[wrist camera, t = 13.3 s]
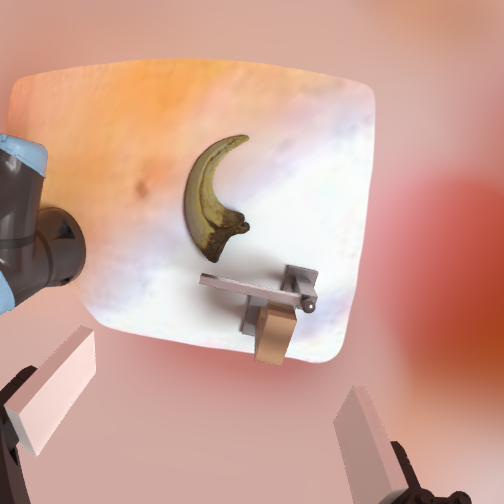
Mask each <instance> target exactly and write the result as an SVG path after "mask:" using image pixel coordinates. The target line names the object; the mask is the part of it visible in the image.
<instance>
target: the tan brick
mask: <svg viewBox="0 0 504 504" xmlns="http://www.w3.org/2000/svg"><path fill="white" fill-rule="evenodd" d="M296 322H297V319H296V315H295V311H294V307H293V305H288V304H283V303H279V302H275V301H270V300H267V303H266V307H262V306H261V307H260V311H259V314H258V318H257V321H256V325H255V357H254V360H255V361H258V362H263V363H269V364H274V365H279V366H281V364H282V362H283V359H284V356H285V354H286V351H287V348H288V345H289V342H290V340H291V337H292V334H293V331H294V328H295V325H296Z"/></svg>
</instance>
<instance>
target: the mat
mask: <svg viewBox="0 0 504 504" xmlns="http://www.w3.org/2000/svg"><path fill="white" fill-rule="evenodd" d="M267 300H270V301H275V302H279V303H283V304H288V305H293V307H294V311H295V309H296V304H291V303H286V302H281V301H276V300H271V299H266V298H261V297H257V296H252V295H251V297H250V301H249V305H248V309H247V313H246V317H245V321H244V326H243V330H242V334H245V335H250V336H255V325H256V321H257V318H258V314H259V311H260V307H261V306H262V307H266V303H267Z"/></svg>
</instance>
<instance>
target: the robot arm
mask: <svg viewBox="0 0 504 504" xmlns="http://www.w3.org/2000/svg"><path fill="white" fill-rule="evenodd" d="M47 159H48V152H47V149H46V148H45V146H43V145H42V144H39V143H35V142H31V141H28V140H24V139H21V138H17V137H13V136H10V135H6V134H2V133H0V315H2V314H3V313H5V312H7V311H11V310H12V309H13V308H15V307H16V306H18V305H19V304H20V303H22V302H23V301H24V300H26V299H28V298H29V297H31V296H32V295H34V294H35V293H36V292H38V291H40V290H41V289H43V288H44V287H56V286H63V285H66V284H68V283H70V282H71V281H73V280H74V279H76V278H77V277H78V276H79V274H80V273H81V271H82V269H83V267H84V264H85V259H86V246H85V240H84V237H83V234H82V231H81V229H80V227H79V225H78V223H77V222H76V221H75V219H74V218H73V217H72V216H71V215H70V214H69V213H67V212H66V211H64V210H62V209H58V208H49V209H45V210H42V211H40V212H39V207H40V200H41V193H42V187H43V182H44V178H46V174H45V171H46V165H47ZM95 373H96V363H95V347H94V330H92V329H89V328H86V327H84V326H80V327H79V328H78V329H77V330H76V331H75V332H74V333H73V334H72V335H71V336H70V337H69V338H68V339H67V340H66V341H65V342H64V343H63V344H62V345H61V346H60V347H59V348H58V349H57V350H56V351H55V352H54V353H53V354H52V355H51V356H50V357H49V358H48V359H47V360H46V361H45V362H44V363H43V364H42V365H41V366H40V367H39V368H36V367H33V366H32V365H31V366H28V367H26V368H24V369H22V370H21V371H20V372H19V373H18V374H17V375H16V377H14V378H13V379H12V380H11V382H9V383H8V384H7V385H6V386H5V387H4V388H3V389H2V390H1V391H0V504H31V503H30V500H29V496H28V493H27V489H26V486H25V482H24V478H23V474H22V469H21V465H20V460H19V455H18V450H17V448H16V444H17V443H18V442H19V441H20V443H21V445H22V447H23V448H24V449H25V450H27V451H28V452H30V453H32V454H33V455H35V456H38V455H39V453H40V452H41V450H42V449H43V447H44V446H45V444H46V443H47V441H48V439H49V438H50V437H51V435H52V434H53V432H54V431H55V429H56V428H57V426H58V425H59V423H60V422H61V420H62V419H63V418H64V416H65V415H66V413H67V412H68V410H69V409H70V408H71V406H72V405H73V403H74V402H75V401H76V399H77V398H78V396H79V395H80V393H81V392H82V391H83V389H84V388H85V387H86V385H87V384H88V382H89V381H90V380H91V378H92V377H93V376H94V374H95ZM333 423H334V426H335V430H336V434H337V437H338V441H339V445H340V449H341V453H342V457H343V461H344V465H345V469H346V473H347V477H348V481H349V485H350V489H351V493H352V497H353V501H354V504H472V502H471V499H470V497H469V495H467V494H466V493H465V492H462V491H456V492H454V493H453V494H452V495H450V496H449V497H448V498H445V497H434V495H433V494H432V493H431V492H430V491H428V490H427V489H423V488H421V487H420V484H419V482H418V480H417V477H416V475H415V473H414V470H413V468H412V466H411V465H410V461H409V459H408V458H407V454H406V453H405V450H404V448H403V447H402V446H401V445H400V444H399V443H398V442H397V441H394V442H393V441H392V442H390V441H389V438H388V436H387V433H386V431H385V429H384V426H383V424H382V422H381V420H380V417H379V416H378V413H377V411H376V408H375V406H374V404H373V401H372V399H371V397H370V395H369V393H368V390H367V388H366V387H365V386H352V388H351V390H350V392H349V394H348V396H347V398H346V400H345V402H344V403H343V405H342V407H341V409H340V411H339V413H338V415H337V416H336V418H335V420H334V422H333Z"/></svg>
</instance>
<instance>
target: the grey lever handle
mask: <svg viewBox="0 0 504 504" xmlns="http://www.w3.org/2000/svg"><path fill="white" fill-rule="evenodd" d="M317 276H318V271H313V270H309V269H304V268H300V267H295V266H291V265H289V268H288V272H287V275H286V279H285V283H284V286H283V290H282V291H281V290H277V289H272V288H267V287H262V286H258V285H253V284H249V283H244V282H239V281H235V280H230V279H226V278H221V277H217V276H213V275H208V274H204V273H202V274H201V277H200V282H199V284H203V285H207V286H211V287H216V288H220V289H225V290H229V291H234V292H238V293H243V294H247V295H252V296H257V297H261V298H266V299H271V300H276V301H281V302H286V303H291V304H296V307H297V309H301V310H303V311H304V312H305V313H312V312H313V311H314V310H315V303H316V300H317V294H316V292H315V290H314V286H315V282H316V279H317Z"/></svg>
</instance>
